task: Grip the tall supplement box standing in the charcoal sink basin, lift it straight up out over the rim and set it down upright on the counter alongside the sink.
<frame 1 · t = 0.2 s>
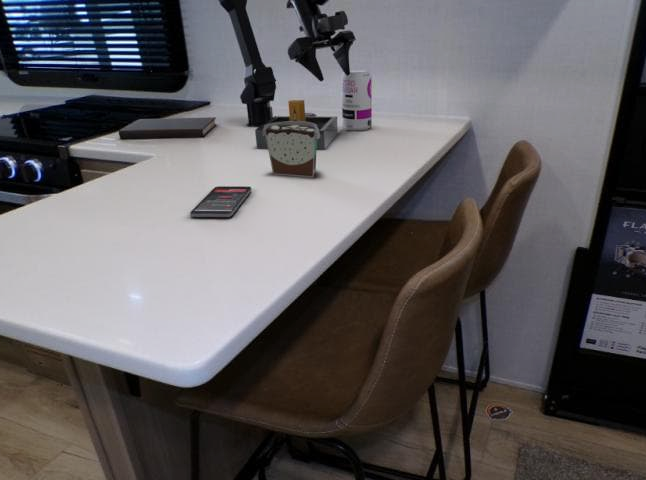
hand: (335, 77, 132), 15 cm above the breakfast bar, tool tilted 30°, fingers open, 9 cm apart
food container: (299, 172, 112), on the breakfast bar
supplement can: (357, 128, 149), on the breakfast bar
hardcover book: (170, 132, 150), on the breakfast bar
smartphone: (223, 204, 96), on the breakfast bar
supplement box: (299, 141, 137), resting in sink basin
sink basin: (299, 140, 137), on the breakfast bar
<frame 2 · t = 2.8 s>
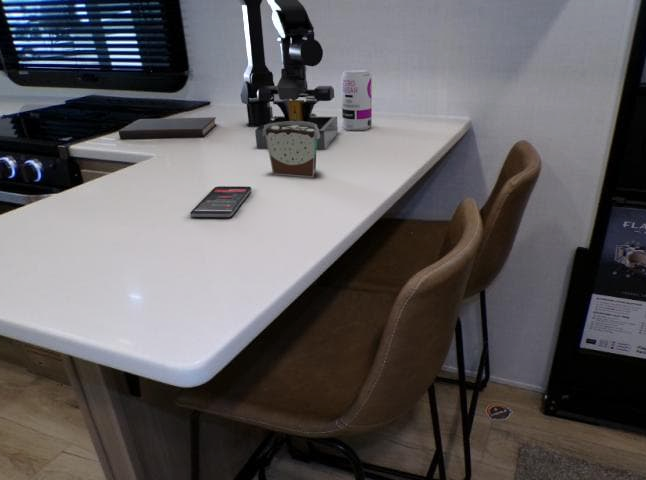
hand: (298, 128, 136), 3 cm above the breakfast bar, tool pointing down, fingers closed on supplement box, 4 cm apart
supplement box: (299, 141, 137), resting in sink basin, touching gripper
everything else where it was.
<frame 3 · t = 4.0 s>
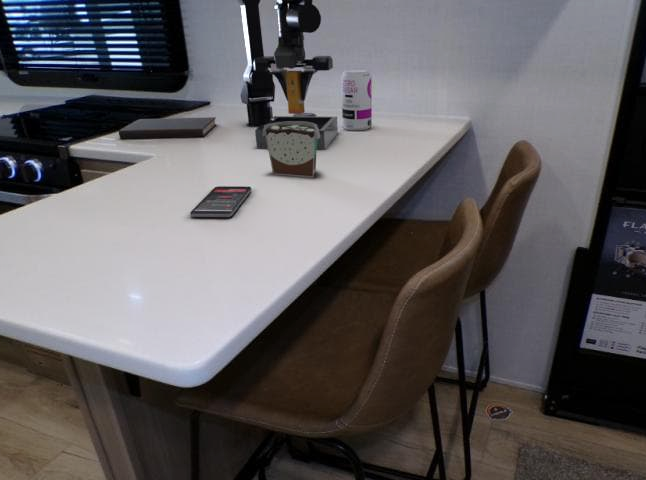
hand: (295, 100, 132), 10 cm above the breakfast bar, tool pointing down, fingers closed on supplement box, 4 cm apart
supplement box: (296, 114, 134), point 7 cm above the breakfast bar, touching gripper
everything else where it was.
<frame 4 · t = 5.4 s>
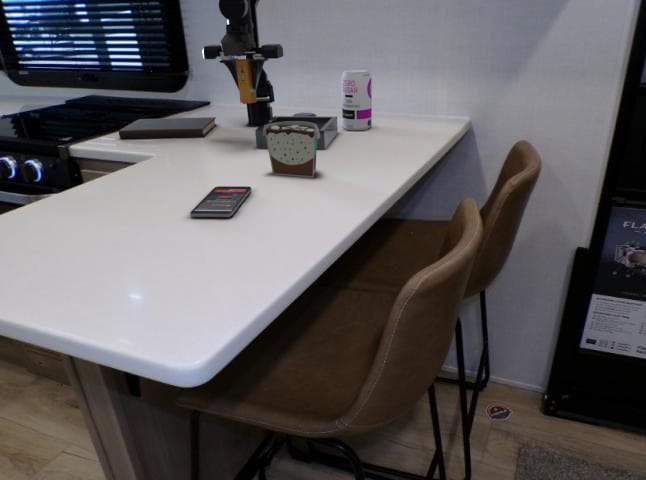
hand: (247, 89, 131), 13 cm above the breakfast bar, tool pointing down, fingers closed on supplement box, 4 cm apart
supplement box: (249, 103, 133), point 10 cm above the breakfast bar, touching gripper
everything else where it was.
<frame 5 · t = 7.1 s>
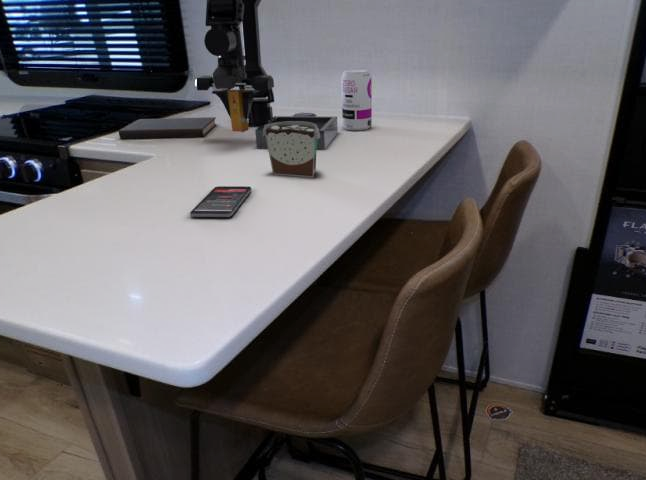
hand: (239, 118, 135), 6 cm above the breakfast bar, tool pointing down, fingers closed on supplement box, 4 cm apart
supplement box: (240, 131, 136), point 3 cm above the breakfast bar, touching gripper
everything else where it was.
when the fingers open (3 cm above the breakfast bar, at t = 8.2 s): supplement box stays where it is, on the breakfast bar.
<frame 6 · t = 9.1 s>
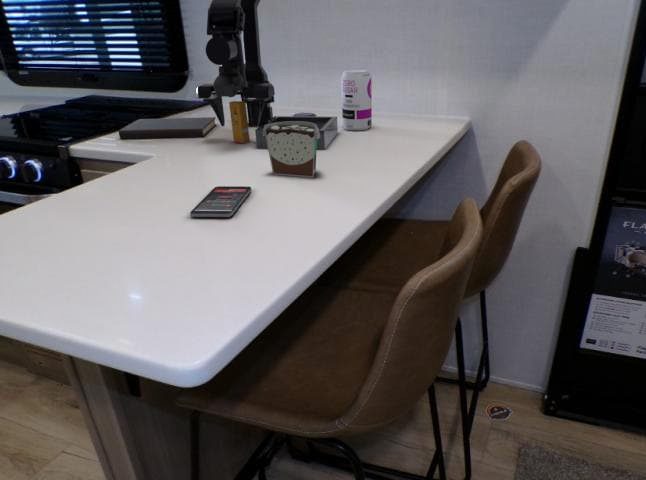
hand: (240, 126, 136), 4 cm above the breakfast bar, tool pointing down, fingers open, 9 cm apart
supplement box: (242, 142, 138), on the breakfast bar
everything else where it was.
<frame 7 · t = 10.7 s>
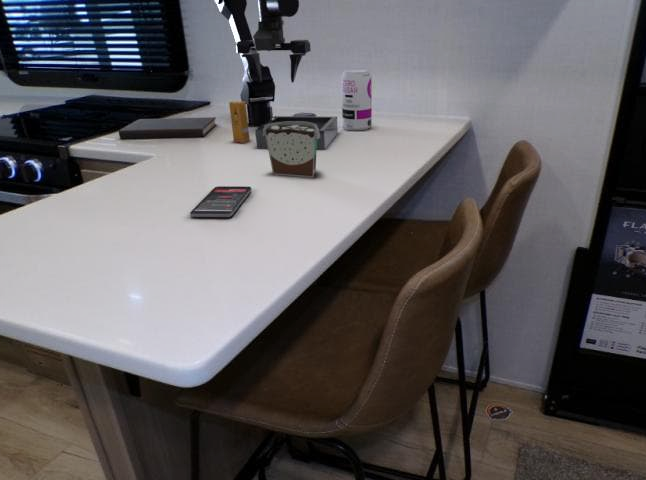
hand: (276, 82, 141), 13 cm above the breakfast bar, tool pointing down, fingers open, 9 cm apart
nothing on the breakfast bar moved.
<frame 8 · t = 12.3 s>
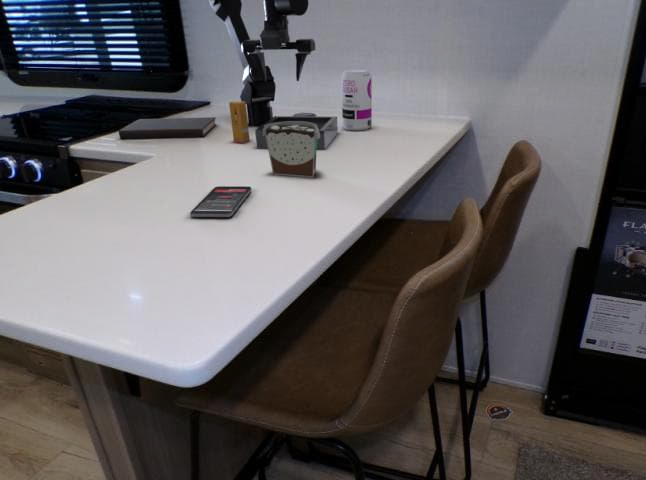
hand: (281, 81, 142), 13 cm above the breakfast bar, tool pointing down, fingers open, 9 cm apart
nothing on the breakfast bar moved.
at the end: supplement box inside the target area (0.1 cm from its centre), on the breakfast bar; supplement box tilted 0°; the gripper is holding nothing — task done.
